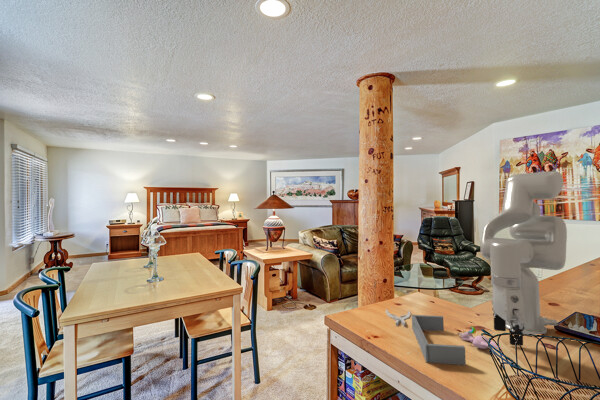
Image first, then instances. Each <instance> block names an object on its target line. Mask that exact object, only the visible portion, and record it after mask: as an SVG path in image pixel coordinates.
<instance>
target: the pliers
mask: <svg viewBox="0 0 600 400" xmlns="http://www.w3.org/2000/svg"><path fill="white" fill-rule="evenodd" d="M385 314H386V315H387V316H388V317H389V318H391V319H392V320H394V321H395V327H398V326H399V324H401V325H402V326H403V327H406V321H405V320H408V319H409V318H410V317H411V316H412V313H411V312H410V310H407V313H406V314H403V315H400V316H398V315H395V314H392V313H390V312H389V311H388V309H387V308H386V309H385Z"/></svg>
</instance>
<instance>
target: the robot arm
mask: <svg viewBox="0 0 600 400" xmlns="http://www.w3.org/2000/svg"><path fill="white" fill-rule="evenodd" d="M504 185H505V188H504V195H503V201H502V206H501V207H502V208H501V212H499V213H497V214H496V215H495V216H494V217H492V218H491V219H490V220H489V221H488V222H487V223H486V225H485V226H484V228H483V230H482V234H481V240H480V248H479V249H480V250H479V251H480V254H481V255H482V257H483V258H485V259H487V260H490V280H491V281H490V283H491V284H490V285H491V286H492V299H491V306H492V311H493V313H492V315H493V316H492V317H493V330H494V331H496V332H497V331H498V332H506V331H507V330H509V329H510V330H509V331H508V332H509V333H511V334H523V336H520V337H519V335H514V337H515V338H516V339H518V341H517V343H516V345H515V342H516V340H515V339H514V337H513V336H512V335H509V344H510V345H511V346H518V347H520V345H521V347H522V346H524V335H525V334H534V335H535V334H544V335H546V334H547V333H548V330H547V326H558V321H557V319H548V317H546V316H545V317H544V316H541V303H540V302H541V301H540V284H539V278H538V277H537V275H536V274H535V273H534V272H533V270H531V269H532V268H533V269H540V270H549V271H561V270H562V269H563V268H564V267H565V265H566V260H567V259H566V258H567V241H568V240H567V238H568V235H567V234H568V232H567V231H568V230H567V225H566V222H565V221H564V219H563V218H561V217H559V216H555V215H541V207H540V205H539V204H538V203H537V202H536V200H552V199H553V200H554V199H555V198H557V197H558V196H559V195H560V193H561V192H562V189H563V187H564V179H563V176H562V174H561V173H560V172H559V171H556V170H551V171H540V172H539V171H538V172H527V173H518V174H513V175H511V176H509V177H507V178H506V179H505V183H504ZM507 228H509V235H510V236H511V238H504V237H503V238H500V237H495V236H496V235H497V234H498V233H499V232H501V231H502V230H505V229H507ZM506 329H507V330H506ZM519 344H520V345H519Z"/></svg>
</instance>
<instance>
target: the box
mask: <svg viewBox="0 0 600 400" xmlns="http://www.w3.org/2000/svg"><path fill="white" fill-rule="evenodd" d="M411 326H412V327H411V329H412V332H413V334H414V336H415V338H416V341H417V343H418V345H419V348H420V350H421V353H422V356H423V358H424V360H425V363H428V364H429V363H430V364H441V365H442V364H444V365H455V366H456V365H458V366H466V365H467V364H466V362H467V361H466V360H467V359H466V347H465V346H464V345H458V344H457V345H455V344H454V345H453V344H439V343H438V344H437V343H436V344H435V343H429V342H428V340H427V338H426V336H425V334H424V332H423V331H435V332H444V331H445V326H444V316H442V315H428V314H427V315H422V314H411Z"/></svg>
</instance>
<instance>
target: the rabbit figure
mask: <svg viewBox="0 0 600 400" xmlns="http://www.w3.org/2000/svg"><path fill="white" fill-rule="evenodd" d="M470 328H471V329H469V330H468V331H466V330H464V331H463V332H460V331H456V332H457V333H456V337H460V339H461V340H462V341H468V342H471V343H472V345H473V347H476V348H478V349H485V350H486V349H488V348H489V347H488V344H487V342H486V341H489V339H488V338H487V337H486V336H483V335H476V336H475V337H474V336H473V334H474V335H475V334H476V333H477V330H476V328H475V327H474V326H471V327H470ZM482 337H483V338H484V339H485V340H486V341H484V340H483V339H482ZM490 341H491V342H490V344H491V345H493V347H494V348H495V349H498V347H497V345H496V343H497V342H496V341H494V340H490ZM495 342H496V343H495ZM499 346H500V344H499ZM500 349H501V350H502V347H501V346H500Z"/></svg>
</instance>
